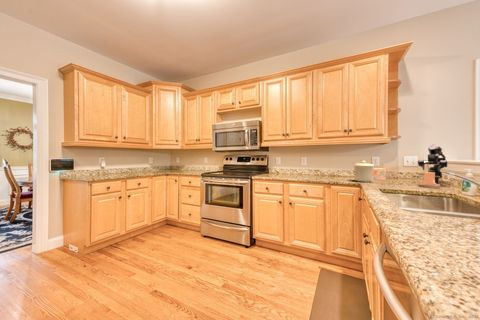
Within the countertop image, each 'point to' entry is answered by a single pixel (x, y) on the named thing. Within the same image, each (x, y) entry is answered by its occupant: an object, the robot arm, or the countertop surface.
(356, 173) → the canister
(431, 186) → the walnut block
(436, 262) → the countertop surface
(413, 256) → the countertop surface
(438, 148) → the robot arm
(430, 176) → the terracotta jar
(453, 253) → the countertop surface
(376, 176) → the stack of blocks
